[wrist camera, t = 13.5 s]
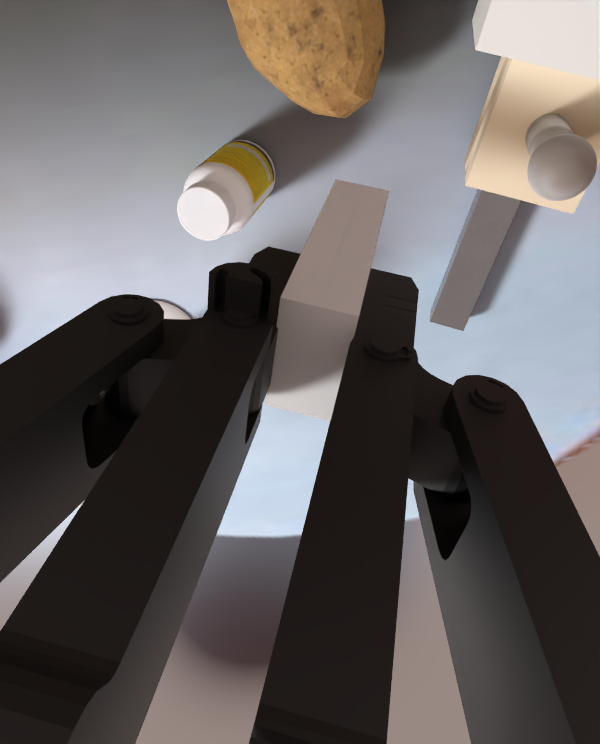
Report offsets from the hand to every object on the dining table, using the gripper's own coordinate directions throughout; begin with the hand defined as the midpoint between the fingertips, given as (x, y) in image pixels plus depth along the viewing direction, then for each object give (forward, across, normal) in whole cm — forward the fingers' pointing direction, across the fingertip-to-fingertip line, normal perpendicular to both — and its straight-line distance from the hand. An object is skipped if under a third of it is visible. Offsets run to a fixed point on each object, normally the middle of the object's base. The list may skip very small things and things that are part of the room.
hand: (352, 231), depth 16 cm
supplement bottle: (+31, -11, -11) cm, 35 cm away
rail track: (+30, +9, -8) cm, 33 cm away
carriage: (+30, +9, -1) cm, 31 cm away
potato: (+31, -7, +2) cm, 32 cm away
